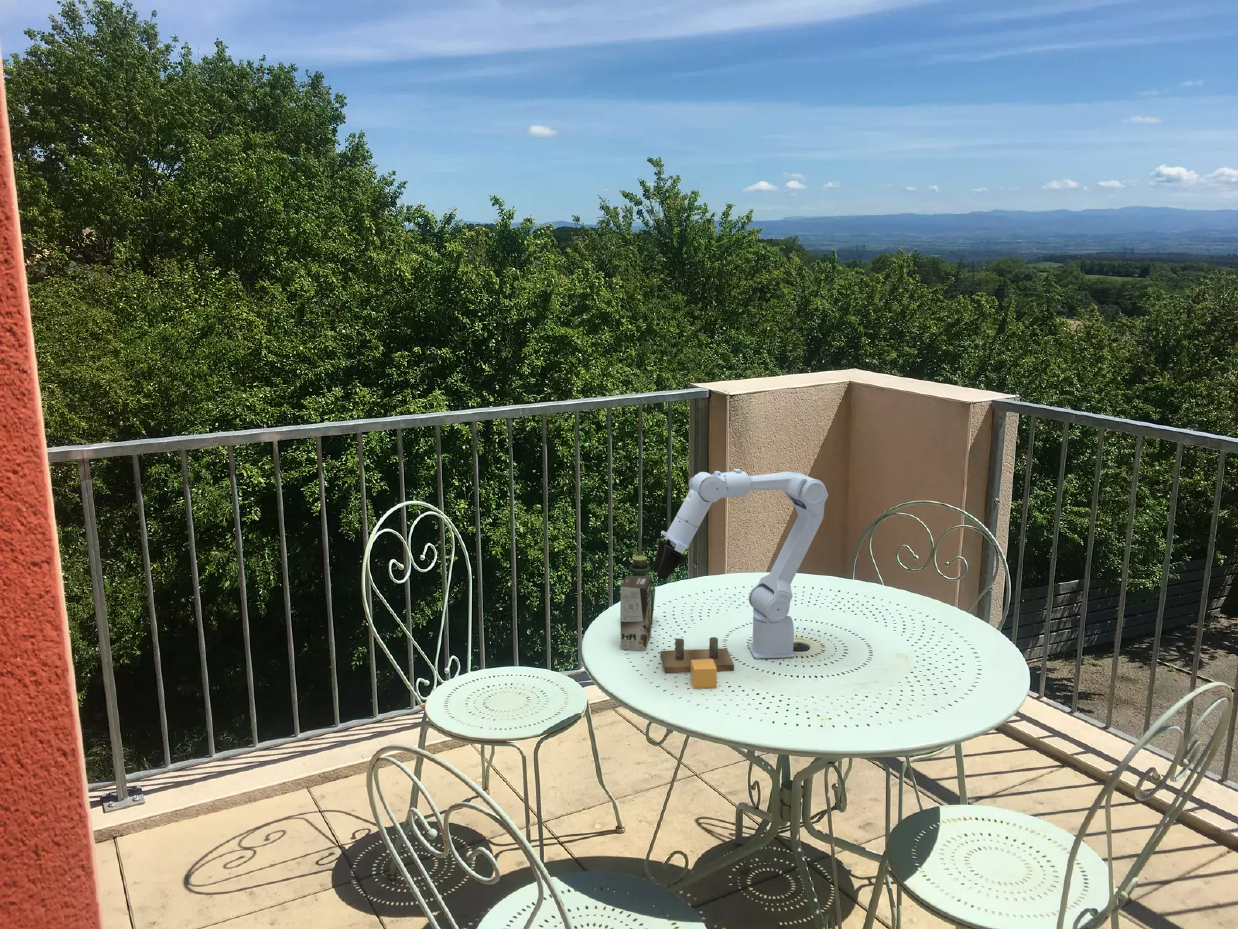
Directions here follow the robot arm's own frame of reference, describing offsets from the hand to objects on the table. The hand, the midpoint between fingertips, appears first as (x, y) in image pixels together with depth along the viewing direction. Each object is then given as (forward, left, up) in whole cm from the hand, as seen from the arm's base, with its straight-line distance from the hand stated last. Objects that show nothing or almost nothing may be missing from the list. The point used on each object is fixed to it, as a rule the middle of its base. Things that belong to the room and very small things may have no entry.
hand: (658, 574), depth 199 cm
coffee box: (+4, -15, -23) cm, 28 cm away
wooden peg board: (-9, -2, -23) cm, 25 cm away
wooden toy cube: (-9, +8, -23) cm, 26 cm away
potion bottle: (+2, -27, -23) cm, 36 cm away
